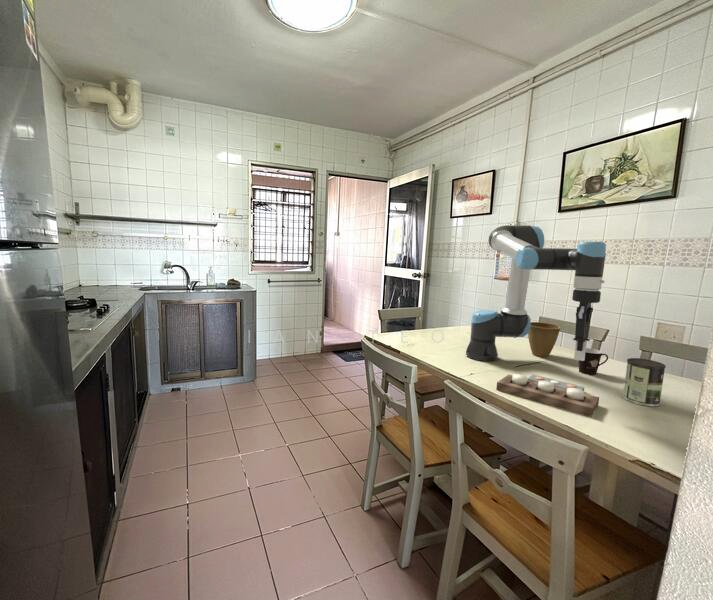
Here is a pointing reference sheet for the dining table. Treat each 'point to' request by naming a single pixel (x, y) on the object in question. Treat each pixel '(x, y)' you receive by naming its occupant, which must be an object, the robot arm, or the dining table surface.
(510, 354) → the dining table surface
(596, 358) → the coffee mug
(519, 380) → the button left
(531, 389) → the button board
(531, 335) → the plant pot
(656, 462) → the dining table surface
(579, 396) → the button right
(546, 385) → the button middle
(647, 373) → the coffee can
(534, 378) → the pattern sign
